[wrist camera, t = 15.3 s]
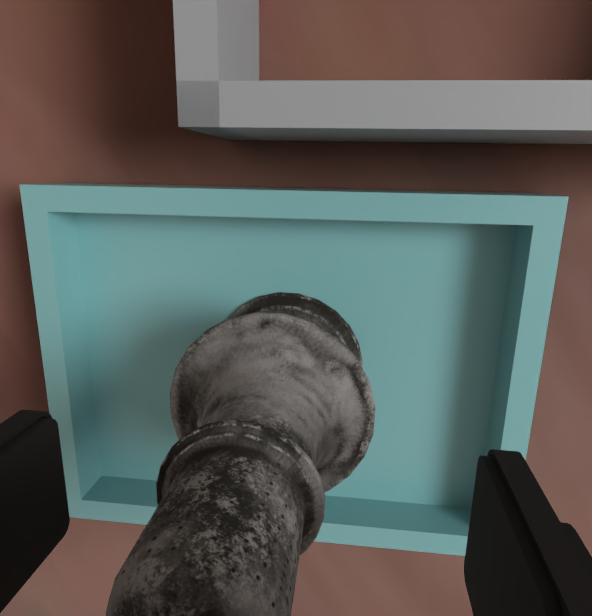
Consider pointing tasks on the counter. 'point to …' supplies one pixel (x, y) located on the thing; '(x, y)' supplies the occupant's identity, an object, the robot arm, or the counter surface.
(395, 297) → the tray
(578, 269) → the counter surface
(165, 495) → the grey stone turned piece
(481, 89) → the deep rectangular frame
